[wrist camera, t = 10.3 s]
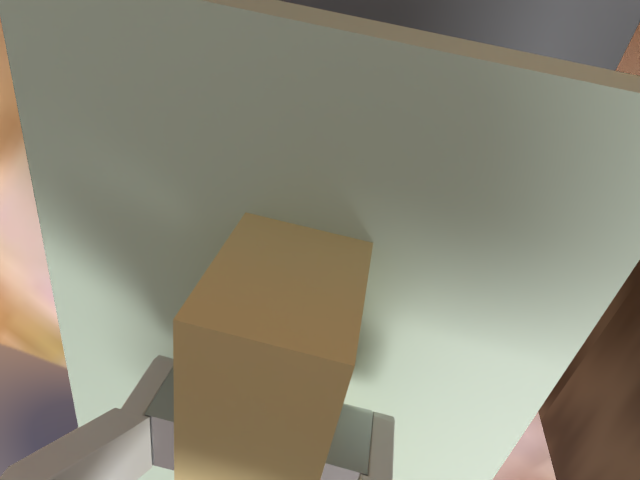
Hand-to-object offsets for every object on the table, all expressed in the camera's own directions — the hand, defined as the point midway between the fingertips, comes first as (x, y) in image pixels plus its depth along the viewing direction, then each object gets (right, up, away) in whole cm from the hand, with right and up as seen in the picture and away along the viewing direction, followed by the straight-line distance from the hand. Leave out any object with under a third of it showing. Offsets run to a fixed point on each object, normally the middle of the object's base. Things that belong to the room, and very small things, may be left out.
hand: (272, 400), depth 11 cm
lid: (+1, +2, +3) cm, 3 cm away
